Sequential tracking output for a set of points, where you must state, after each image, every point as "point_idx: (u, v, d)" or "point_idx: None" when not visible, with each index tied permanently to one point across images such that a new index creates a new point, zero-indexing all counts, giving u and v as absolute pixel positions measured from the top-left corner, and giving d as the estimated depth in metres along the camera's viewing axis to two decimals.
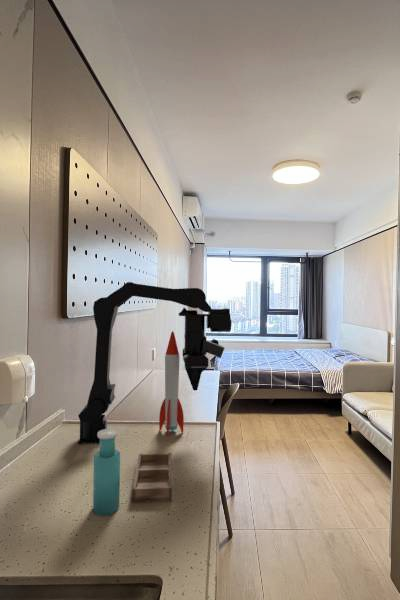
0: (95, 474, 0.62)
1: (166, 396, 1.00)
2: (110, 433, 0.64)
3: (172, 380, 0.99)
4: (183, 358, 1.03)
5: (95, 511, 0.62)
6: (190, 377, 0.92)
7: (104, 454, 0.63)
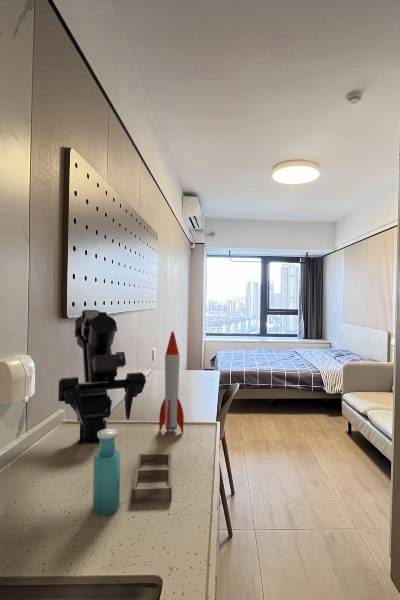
0: (95, 474, 0.62)
1: (166, 396, 1.00)
2: (110, 433, 0.64)
3: (172, 380, 0.99)
4: None
5: (95, 511, 0.62)
6: (75, 411, 0.73)
7: (104, 454, 0.63)
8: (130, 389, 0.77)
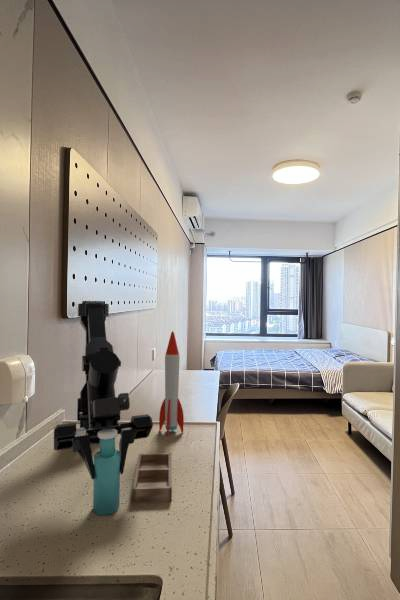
0: (95, 474, 0.62)
1: (166, 396, 1.00)
2: (110, 433, 0.64)
3: (172, 380, 0.99)
4: None
5: (95, 511, 0.62)
6: (84, 462, 0.65)
7: (104, 454, 0.63)
8: (124, 437, 0.67)
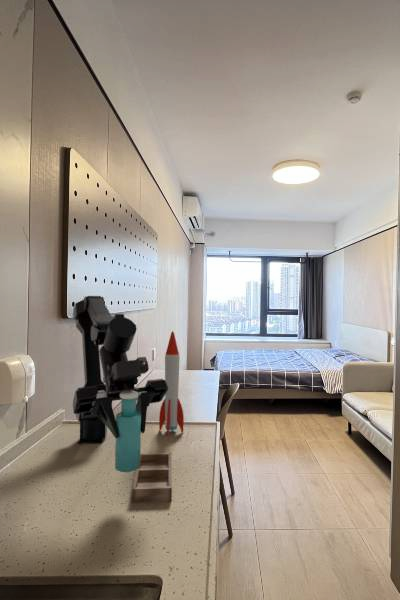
0: None
1: (166, 396, 1.00)
2: (132, 394, 0.66)
3: (172, 380, 0.99)
4: None
5: (118, 469, 0.64)
6: (105, 423, 0.66)
7: (127, 414, 0.65)
8: (143, 398, 0.69)
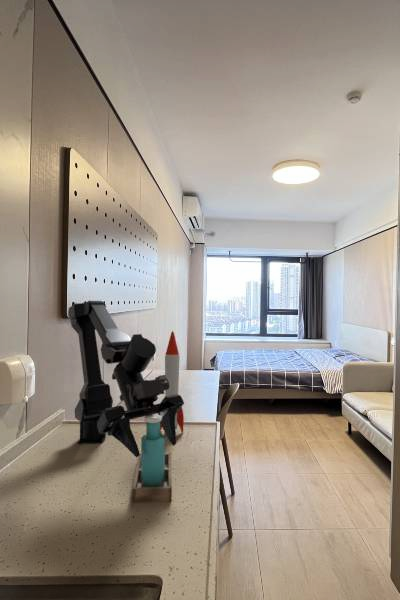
0: (146, 456, 0.68)
1: None
2: (157, 417, 0.70)
3: (172, 380, 0.99)
4: None
5: None
6: (123, 443, 0.68)
7: (153, 437, 0.69)
8: (171, 413, 0.74)
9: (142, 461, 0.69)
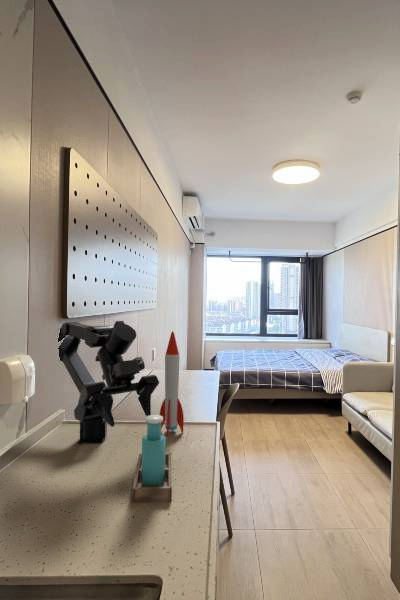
0: (146, 456, 0.68)
1: (166, 396, 1.00)
2: (158, 418, 0.70)
3: (172, 380, 0.99)
4: None
5: None
6: (101, 415, 0.78)
7: (154, 437, 0.69)
8: (147, 390, 0.84)
9: (142, 461, 0.69)
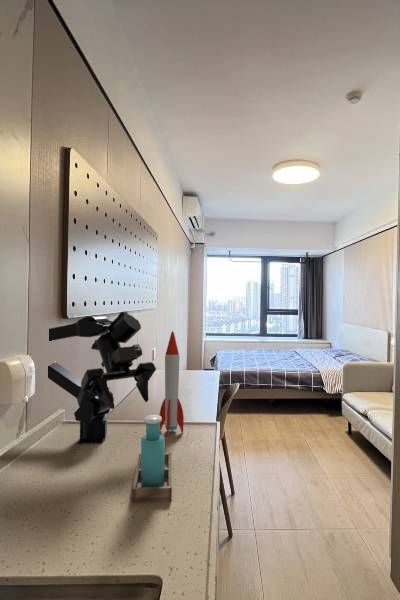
0: (146, 456, 0.68)
1: (166, 396, 1.00)
2: (156, 418, 0.70)
3: (172, 380, 0.99)
4: None
5: None
6: (101, 398, 0.82)
7: (153, 437, 0.69)
8: (145, 376, 0.89)
9: (142, 462, 0.69)
